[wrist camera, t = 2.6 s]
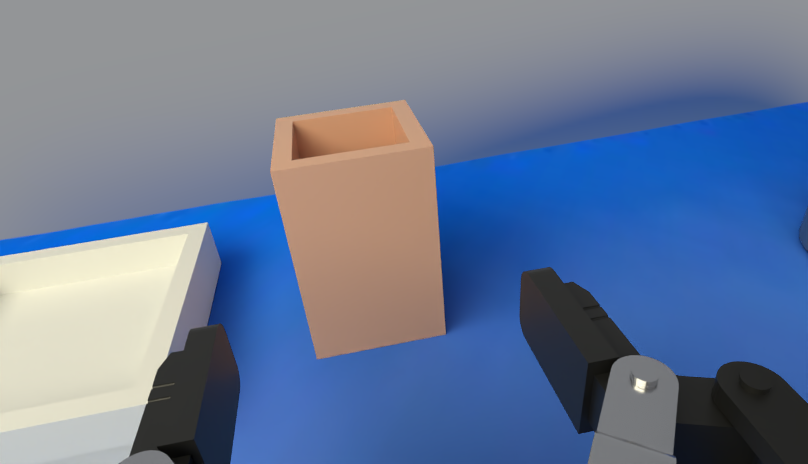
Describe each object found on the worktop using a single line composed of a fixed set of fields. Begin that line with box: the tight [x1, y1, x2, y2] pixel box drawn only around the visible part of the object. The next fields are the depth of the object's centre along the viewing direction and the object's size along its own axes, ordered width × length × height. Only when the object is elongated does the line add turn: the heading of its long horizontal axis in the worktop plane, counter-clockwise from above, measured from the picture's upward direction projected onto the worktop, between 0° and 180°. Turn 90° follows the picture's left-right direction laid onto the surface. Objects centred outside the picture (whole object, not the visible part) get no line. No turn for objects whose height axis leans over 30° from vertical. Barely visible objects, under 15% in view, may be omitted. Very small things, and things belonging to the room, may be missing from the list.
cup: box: [270, 100, 446, 359], centre depth 25 cm, size 6×6×10 cm
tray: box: [0, 223, 221, 464], centre depth 26 cm, size 14×14×3 cm
